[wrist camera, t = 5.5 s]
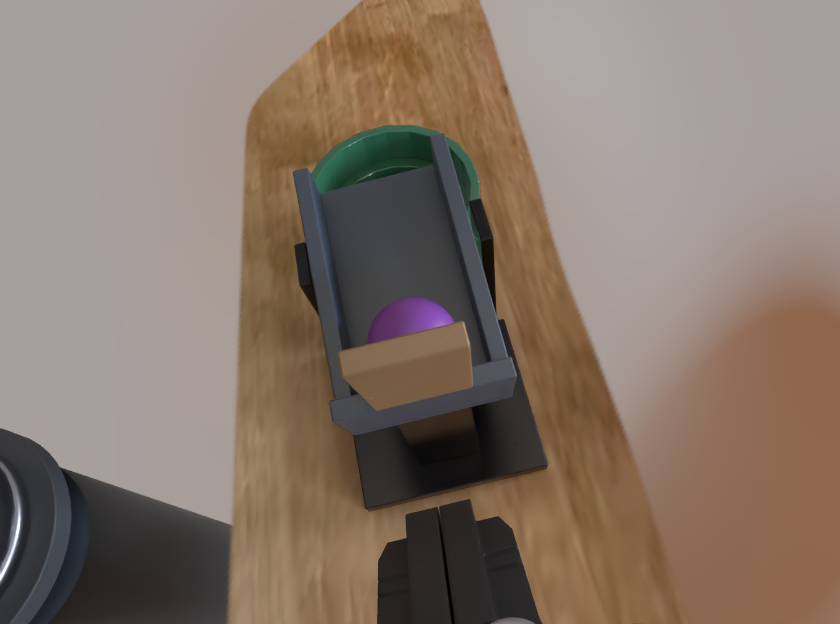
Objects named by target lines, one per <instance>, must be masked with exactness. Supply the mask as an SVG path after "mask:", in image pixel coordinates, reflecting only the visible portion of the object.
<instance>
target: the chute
mask: <svg viewBox="0 0 840 624" xmlns="http://www.w3.org/2000/svg"><path fill="white" fill-rule="evenodd" d="M430 144H431V151H432V158H433V165H431V166H427V167H423V168H419V169H415V170H411V171H407V172H403V173H399V174H395V175H391V176H387V177H383V178H379V179H375V180H371V181H367V182H363V183H360V184H356V185H352V186H348V187H344V188H340V189H336V190H332V191H328V192H324V193H320V192H319V190H318V188H317V186H316V184H315V182H314V180H313V178H312V176H311V174H310V172H309V170H308V168H305V169H301V170H297V171H294V172H293V176H294V181H295V186H296V192H297V197H298V203H299V208H300V214H301V219H302V224H303V230H304V235H305V241H306V246H307V252H308V257H309V262H310V268H311V273H312V279H313V284H314V290H315V295H316V300H317V306H318V311H319V317H320V322H321V328H322V333H323V338H324V344H325V349H326V355H327V360H328V366H329V371H330V376H331V382H332V387H333V393H334V398H335V400H332V401H330V403H329V404H330V409H331V415H332V420H333V422H334V423H336V424H337V425H339V426H341V427H342V428H344V429H345V430H347V431H348V432H350V433H352V434H353V435H359V434H363V433H367V432H371V431H375V430H379V429H383V428H387V427H392V426H396V425H400V424H404V423H408V422H412V421H416V420H420V419H424V418H428V417H432V416H436V415H441V414H445V413H449V412H453V411H457V410H461V409H465V408H469V407H473V406H477V405H481V404H485V403H489V402H494V401H498V400H502V399H506V398H510V397H512V394H513V390H514V386H515V382H516V377H517V375H516V371H515V368H514V364H513V361H512V358H511V357H508V355H507V351H506V348H505V344H504V341H503V337H502V334H501V330H500V327H499V323H498V320H497V316H496V312H495V309H494V305H493V302H492V298H491V295H490V291H489V288H488V284H487V281H486V277H485V274H484V270H483V267H482V263H481V260H480V256H479V253H478V249H477V246H476V242H475V239H474V235H473V231H472V228H471V224H470V221H469V217H468V214H467V210H466V207H465V203H464V200H463V196H462V193H461V189H460V186H459V182H458V179H457V175H456V172H455V168H454V165H453V161H452V158H451V154H450V150H449V147H448V143H447V140H446V136H445V134H444V133H443V134H439V135H435V136H431V137H430ZM408 297H418V298H424V299H428V300H430V301H433V302H435V303H437V304H438V305H440V306H441V307H442V308H444V309H445V310H446V311H447V312H448V313H449V315H450V316H451V317H452V319H453V321H454V323H451V324H447V325H443V326H439V327H435V328H431V329H427V330H423V331H419V332H415V333H411V334H407V335H403V336H399V337H395V338H391V339H387V340H383V341H379V342H375V343H371V344H367V341H368V333H369V329H370V327H371V324H372V322H373V320H374V319H375V317H376V316H377V314H378V313H379V312H380V311H381V310H382V309H383V308H384V307H386V306H387V305H389V304H390V303H392V302H394V301H396V300H399V299H403V298H408Z"/></svg>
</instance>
